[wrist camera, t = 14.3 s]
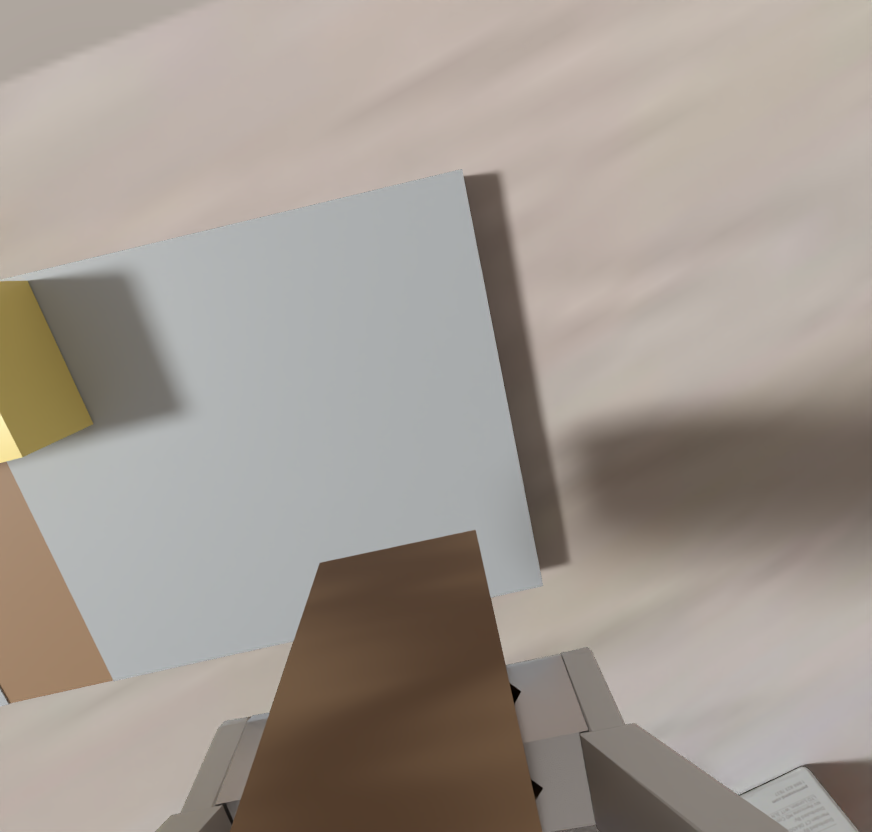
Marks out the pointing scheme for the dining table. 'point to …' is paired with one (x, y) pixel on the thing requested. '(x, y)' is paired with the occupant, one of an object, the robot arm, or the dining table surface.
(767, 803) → the skincare box
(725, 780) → the dining table surface
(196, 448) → the board
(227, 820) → the robot arm
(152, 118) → the dining table surface
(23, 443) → the block
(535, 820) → the wooden block with knob
